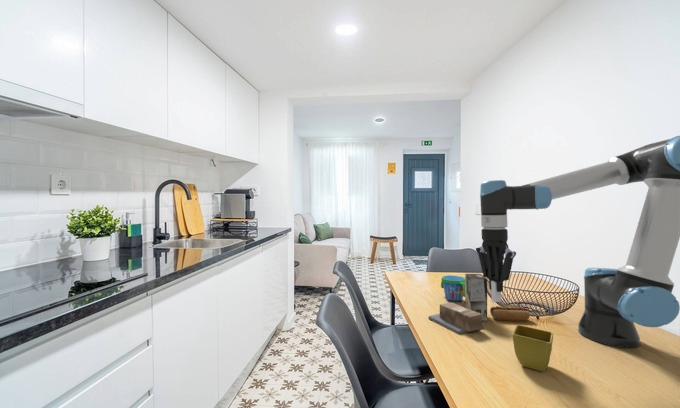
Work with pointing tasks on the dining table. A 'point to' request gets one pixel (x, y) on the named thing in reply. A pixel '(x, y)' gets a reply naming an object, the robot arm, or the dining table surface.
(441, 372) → the dining table surface
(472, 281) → the coffee box
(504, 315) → the food
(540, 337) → the flower pot
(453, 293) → the snack cup
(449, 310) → the walnut block
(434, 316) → the mat
